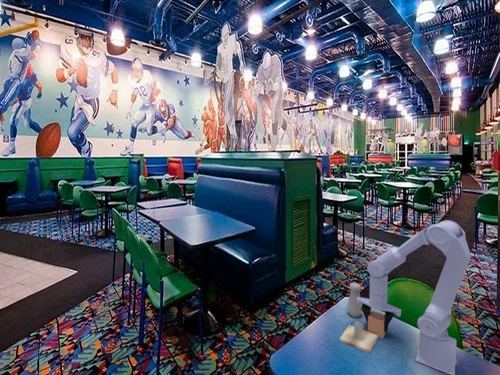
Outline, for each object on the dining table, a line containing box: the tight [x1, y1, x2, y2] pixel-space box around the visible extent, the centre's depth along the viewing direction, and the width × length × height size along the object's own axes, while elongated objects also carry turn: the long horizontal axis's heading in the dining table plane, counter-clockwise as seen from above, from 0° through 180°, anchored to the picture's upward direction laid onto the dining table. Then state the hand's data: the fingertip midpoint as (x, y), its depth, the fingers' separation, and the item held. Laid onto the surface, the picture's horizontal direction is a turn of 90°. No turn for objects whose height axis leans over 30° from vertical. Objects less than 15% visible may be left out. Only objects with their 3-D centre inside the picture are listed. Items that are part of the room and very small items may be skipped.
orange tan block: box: [367, 310, 387, 339], centre depth 95 cm, size 5×5×6 cm
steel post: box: [353, 320, 365, 340], centre depth 91 cm, size 3×3×5 cm
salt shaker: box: [346, 282, 363, 318], centre depth 106 cm, size 6×6×13 cm
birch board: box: [339, 324, 379, 355], centre depth 91 cm, size 10×10×1 cm
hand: (377, 327), depth 95 cm, fingers closed on orange tan block, 5 cm apart
